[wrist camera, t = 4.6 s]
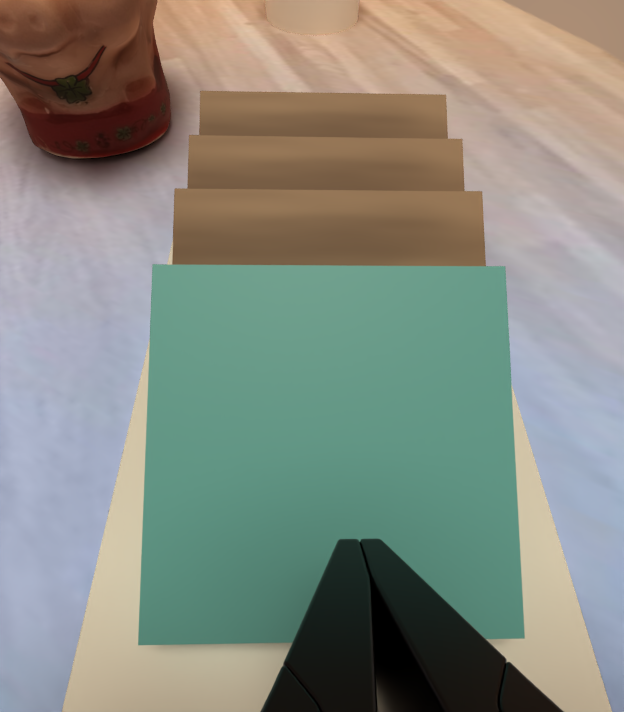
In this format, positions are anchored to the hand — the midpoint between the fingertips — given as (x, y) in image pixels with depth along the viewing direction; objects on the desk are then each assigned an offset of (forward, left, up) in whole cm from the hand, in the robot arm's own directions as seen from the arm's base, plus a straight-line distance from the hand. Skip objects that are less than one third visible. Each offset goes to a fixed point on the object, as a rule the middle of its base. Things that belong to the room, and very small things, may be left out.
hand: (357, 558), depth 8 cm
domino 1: (-1, +1, -6) cm, 6 cm away
